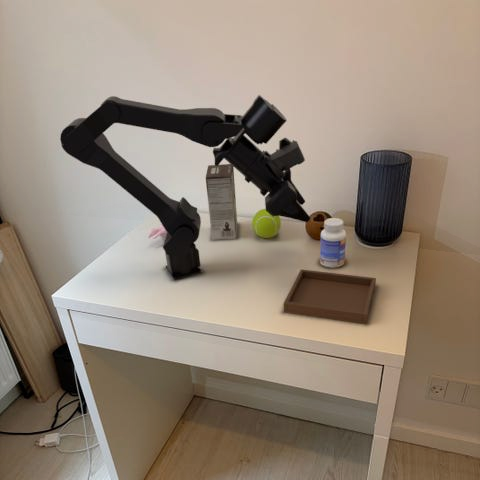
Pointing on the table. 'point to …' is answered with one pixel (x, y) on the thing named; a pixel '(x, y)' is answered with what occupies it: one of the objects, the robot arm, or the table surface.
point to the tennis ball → (266, 224)
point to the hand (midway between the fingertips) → (306, 211)
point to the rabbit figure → (158, 232)
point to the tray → (331, 296)
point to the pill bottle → (333, 243)
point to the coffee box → (222, 201)
